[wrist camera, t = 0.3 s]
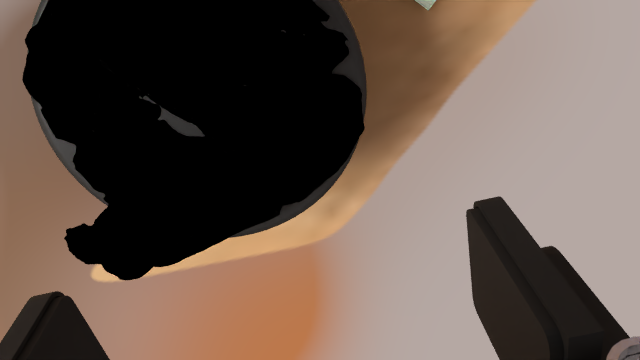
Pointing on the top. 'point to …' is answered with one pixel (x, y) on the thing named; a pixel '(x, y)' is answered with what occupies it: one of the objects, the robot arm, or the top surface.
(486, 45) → the top surface
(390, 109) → the top surface
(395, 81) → the top surface
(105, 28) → the coal bowl
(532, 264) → the robot arm
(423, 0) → the plate
